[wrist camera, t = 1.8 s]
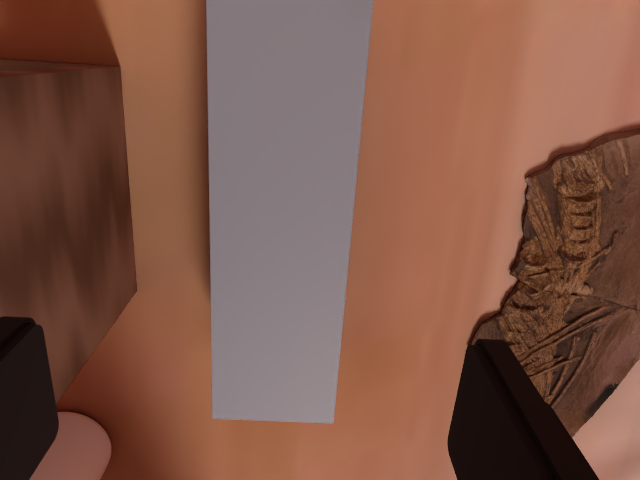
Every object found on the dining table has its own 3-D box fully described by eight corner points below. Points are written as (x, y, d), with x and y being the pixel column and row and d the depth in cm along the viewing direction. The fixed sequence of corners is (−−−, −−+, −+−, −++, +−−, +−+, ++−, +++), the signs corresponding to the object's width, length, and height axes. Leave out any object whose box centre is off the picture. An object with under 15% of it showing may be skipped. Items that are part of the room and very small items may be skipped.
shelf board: (331, 391, 27) (333, 423, 25) (221, 386, 27) (212, 418, 24) (367, -17, 20) (375, -26, 18) (218, -29, 20) (205, -39, 17)
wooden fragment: (550, 100, 25) (560, 102, 24) (747, 140, 26) (764, 143, 25) (419, 480, 34) (423, 493, 33) (569, 499, 35) (576, 512, 34)
